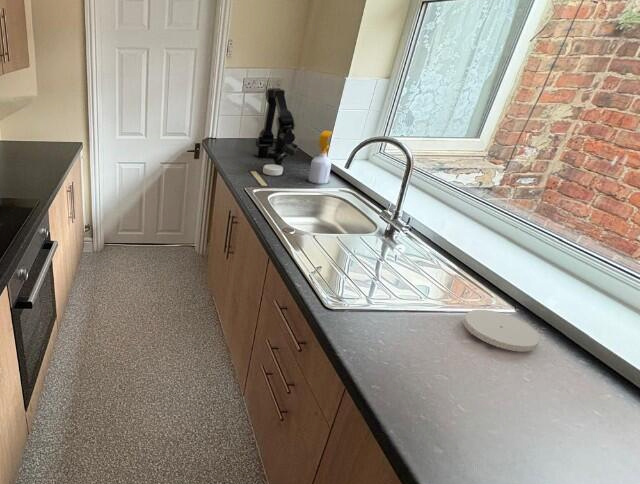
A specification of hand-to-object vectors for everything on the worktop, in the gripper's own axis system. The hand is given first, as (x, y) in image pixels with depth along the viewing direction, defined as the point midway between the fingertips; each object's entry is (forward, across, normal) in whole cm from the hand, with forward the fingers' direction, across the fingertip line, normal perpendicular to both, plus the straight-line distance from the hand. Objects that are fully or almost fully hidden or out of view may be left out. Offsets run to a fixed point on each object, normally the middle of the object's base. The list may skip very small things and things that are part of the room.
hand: (277, 168), depth 223 cm
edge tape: (+1, -19, +2) cm, 19 cm away
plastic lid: (0, -96, -98) cm, 138 cm away
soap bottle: (+1, -5, -23) cm, 24 cm away
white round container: (+1, -6, 0) cm, 7 cm away
